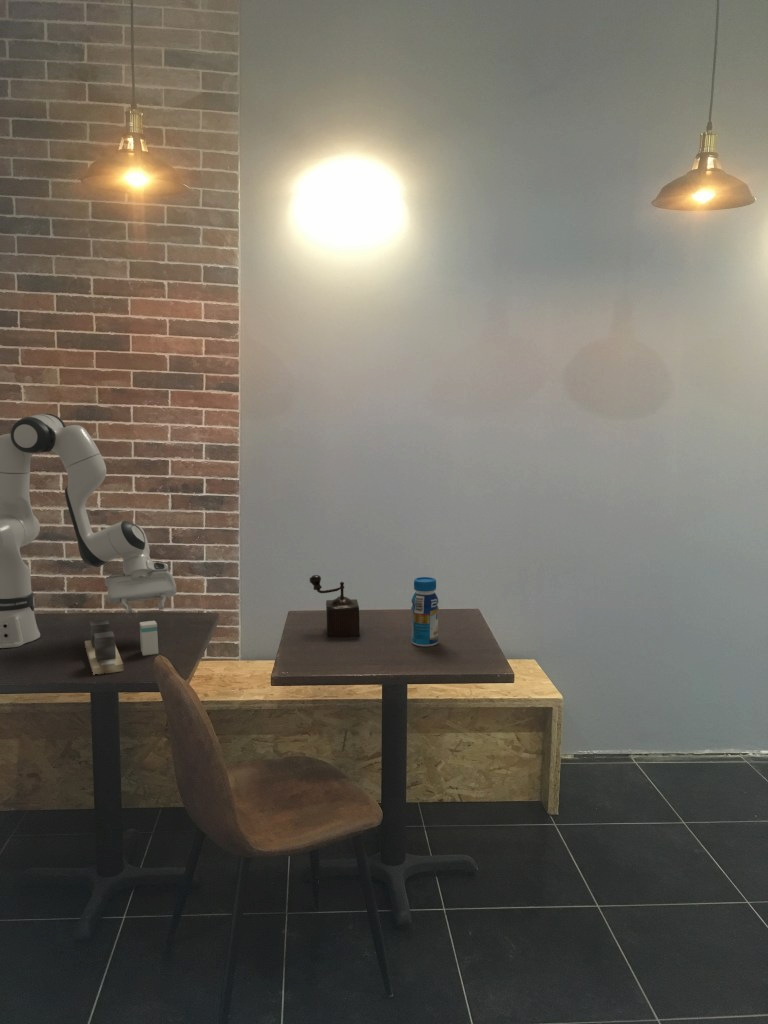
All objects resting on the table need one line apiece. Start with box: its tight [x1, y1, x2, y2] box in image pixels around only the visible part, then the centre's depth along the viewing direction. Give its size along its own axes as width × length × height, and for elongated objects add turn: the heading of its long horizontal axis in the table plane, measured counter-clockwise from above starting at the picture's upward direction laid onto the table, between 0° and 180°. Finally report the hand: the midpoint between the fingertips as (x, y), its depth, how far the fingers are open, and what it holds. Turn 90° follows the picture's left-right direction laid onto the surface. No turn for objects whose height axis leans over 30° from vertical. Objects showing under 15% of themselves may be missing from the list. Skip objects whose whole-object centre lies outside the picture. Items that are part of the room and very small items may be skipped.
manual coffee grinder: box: [309, 574, 361, 638], centre depth 262 cm, size 16×11×18 cm
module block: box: [139, 620, 159, 657], centre depth 243 cm, size 4×4×9 cm
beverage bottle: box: [410, 576, 440, 647], centre depth 250 cm, size 8×8×20 cm
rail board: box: [84, 619, 125, 676], centre depth 238 cm, size 8×26×9 cm, turn 24°
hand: (145, 610), depth 248 cm, fingers open, 8 cm apart
